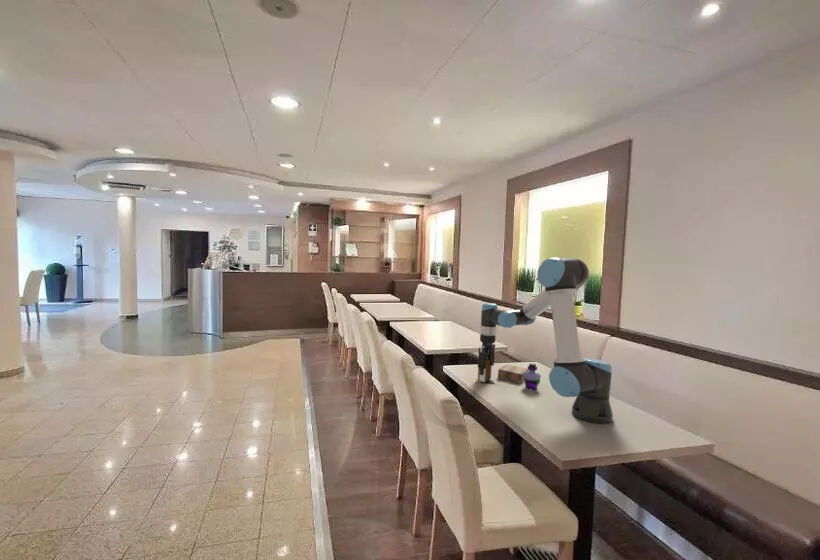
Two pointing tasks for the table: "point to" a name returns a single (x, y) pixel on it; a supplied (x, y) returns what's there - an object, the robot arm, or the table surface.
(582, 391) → the robot arm
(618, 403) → the table surface
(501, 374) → the walnut block
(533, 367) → the potion bottle
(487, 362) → the condiment
